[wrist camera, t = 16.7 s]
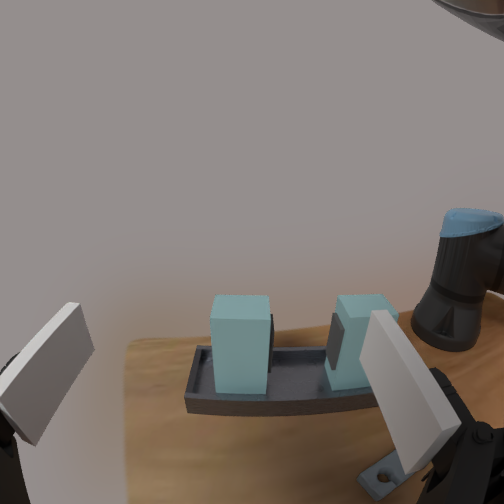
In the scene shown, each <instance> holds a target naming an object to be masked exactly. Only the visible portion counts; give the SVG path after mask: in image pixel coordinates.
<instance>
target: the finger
mask: <svg viewBox="0 0 504 504" xmlns="http://www.w3.org/2000/svg"><path fill="white" fill-rule="evenodd" d="M210 329H211V342H212V355H213V367H214V378H215V389H216V393H237V394H266V385H267V373H271V369H272V357H273V343H274V324H273V315H272V314H270V306H269V296H246V295H215V299H214V304H213V307H212V311H211V316H210Z"/></svg>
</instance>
